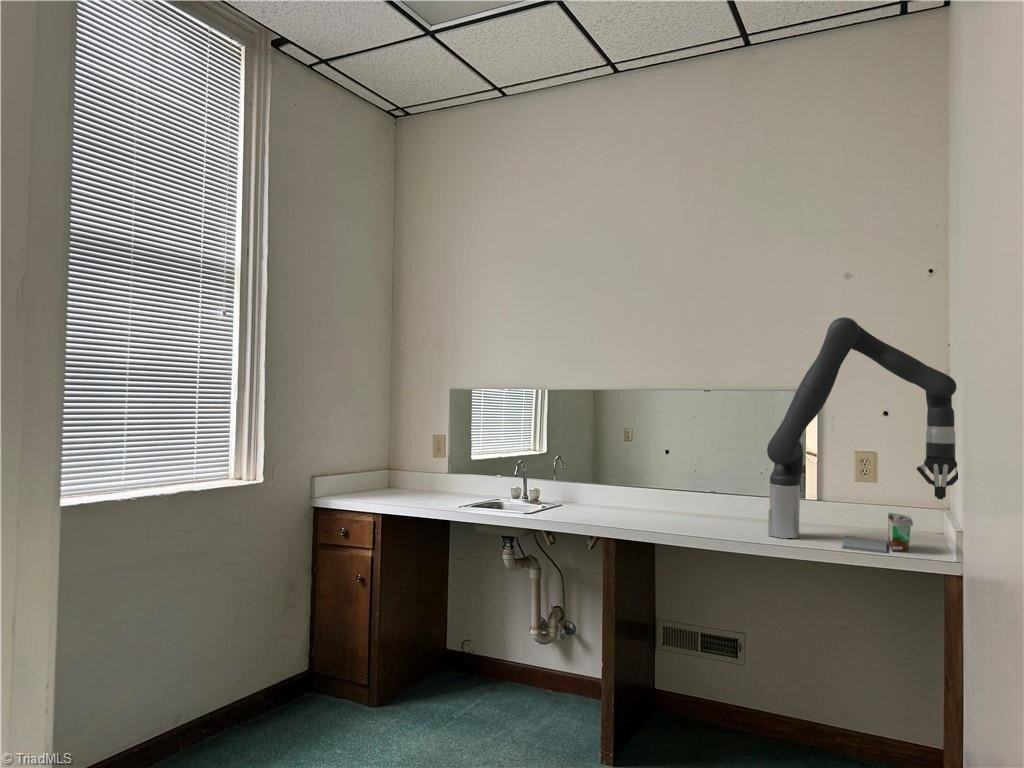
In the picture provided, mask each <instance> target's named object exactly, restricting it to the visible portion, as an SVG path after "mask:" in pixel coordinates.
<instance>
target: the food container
mask: <svg viewBox="0 0 1024 768" xmlns="http://www.w3.org/2000/svg"><path fill="white" fill-rule="evenodd" d="M913 526H914V521H913V519H912V517H911V516H909V515H905V514H901V513H894V512H892V513H891V512H888V513H887V537H888V538H887V547H889V549H890V551H891V552H892V553H906V552H908V551H909V547H910V540H911V539H910V537H911V529H912V528H911V527H913Z"/></svg>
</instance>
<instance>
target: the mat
mask: <svg viewBox="0 0 1024 768" xmlns="http://www.w3.org/2000/svg"><path fill="white" fill-rule="evenodd" d="M843 539H844V540H843V543H842V546H841V547H842V548H841V549H847V550H852V551H853V550H855V551H856V550H857V551H863V552H864V551H865V552H872V553H873V552H874V553H882V554H887V549H888V548H887V547H888V539H880V538H871V537H860V536H851V535H845V536H844V538H843Z"/></svg>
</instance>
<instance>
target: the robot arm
mask: <svg viewBox="0 0 1024 768" xmlns="http://www.w3.org/2000/svg"><path fill="white" fill-rule="evenodd" d="M851 350H853V351H855V352H858V353H860V354H862V355H864V356H865V357H868V358H869V359H871V360H872V361H874V362H875V363H876V364H878V365H880V367H882V368H884V369H886V370H887V371H888V372H890V373H892V374H893V375H895V376H897V377H899V378H900V379H901V380H904V381H906V382H908V383H910V384H914V385H916V386H918V387H919V388H921V389H922V390H924V391H925V397H926V399H925V401H926V405H927V413H926V433H925V459H924V461H923V464H921V465H917V466H916V471H917V472H918V473H919V474H920V475H921V477H922V478H924V479H923V480H925V481H926V482H927V483H928V484H929V485H932V486H933V487H934V497H935V498H936V499H937V500H944V498H946V495H947V493H946V492H947V487H948V486H953V485H954V484H955V483H956V482H957V481H958V480H959V479H958V471H957V466H958V462H957V460H956V430H955V411H954V409H953V405H952V401H953V400H952V399H953V395H954V394H955V393H956V391H957V383H956V381H955V380H954V379H953V377H952V376H950V375H948V374H947V373H944V372H942V371H940V370H938V369H936V368H933V367H931V366H928V365H926V363H923V362H922V361H920V360H919V359H917V358H915V357H913V356H911V355H910V354H909V353H906V352H904V351H903V350H900V349H898V348H896V347H894V346H892V345H890V344H889V343H886V342H884V341H883V340H881V339H879V338H878V337H876V336H874V335H873V334H871V333H870V332H868V331H867V330H866V329H864V328H863V327H862V326H861V325H859V324H858V323H857V322H856V320H854V319H852V318H850V317H844V316H843V317H839V318H836V319H835V320H833V321H832V322H831V323H830V324H829V326H828V328H827V332H826V335H825V338H824V341H823V344H822V346H821V349H820V350H819V353H818V355H817V357H816V358H815V360H814V362H812V364H811V366H810V367H809V369H808V370H807V371H806V373H805V375H804V377H803V378H802V379H801V382H800V384H799V386H798V388H797V390H796V392H795V394H794V397H793V398H792V400H791V403H790V405H789V407H788V409H787V411H786V413H785V416H784V417H783V419H782V422H781V423H780V425H779V427H778V428H777V430H776V431H775V433H774V434H773V436H772V437H771V439H770V440H769V442H768V444H767V449H766V452H767V453H766V454H767V456H768V458H769V460H770V461H771V462H772V463H773V464H774V465H773V466H774V467H773V470H772V472H771V474H770V476H769V506H768V511H767V512H768V515H767V518H768V519H767V520H768V521H767V522H768V524H767V526H768V527H767V532H768V533H767V536H768V537H769V536H770V537H773V536H774V538H778V537H779V538H780V539H787V538H793V539H797V537H798V538H800V509H801V508H800V504H801V502H800V497H801V489H800V488H801V485H800V484H801V479H802V478H801V477H802V474H803V463H804V461H803V460H804V459H803V458H804V451H803V449H804V448H803V444H802V443H801V441H800V440H801V437H802V435H803V433H804V431H805V430H806V429H807V427H808V426H809V425H810V423H812V421H813V420H814V419H815V418H816V417H817V416H818V414H820V412H821V410H822V408H823V407H824V406H825V403H826V402H827V400H828V399H829V396H830V394H831V392H832V390H833V387H834V385H835V383H836V380H837V378H838V374H839V372H840V368H841V366H842V364H843V363H844V361H845V359H846V357H847V356H848V354H849V353H850V351H851ZM926 468H927V469H926ZM927 470H928V471H929V472H930V473H931V474H933V479H932V478H931V477H930V476H929V475H928V474H927V473H926V472H927ZM953 470H954V473H955V474H954V475H953V476H952V477H951V478H950V479H949V480H948V476H949V475H951V473H952V472H953ZM940 476H941V478H940ZM947 480H948V481H947ZM779 538H778V539H779Z"/></svg>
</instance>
